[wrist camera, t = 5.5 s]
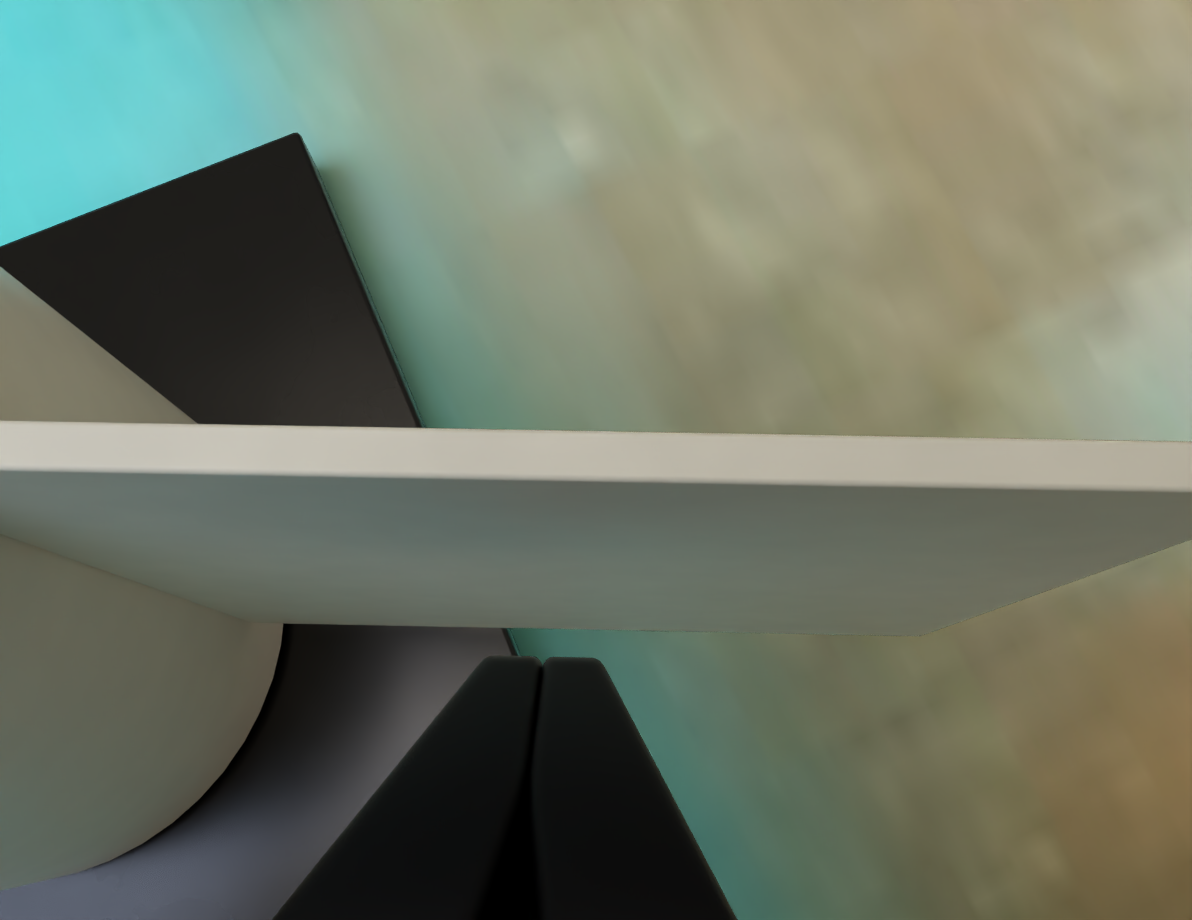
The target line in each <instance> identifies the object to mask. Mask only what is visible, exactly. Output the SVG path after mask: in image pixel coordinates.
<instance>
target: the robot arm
mask: <svg viewBox="0 0 1192 920" xmlns="http://www.w3.org/2000/svg"><path fill="white" fill-rule="evenodd" d="M272 920H737V918H736V916H735V914H734V912H733V910H732V909H731V907H730V905H729V903H728V901H727V899H726V897H725V895H724V893H723V891H722V889H721V888H720V886H719V884H718V882H717V880H716V878H715V876H714V874H713V872H712V870H711V869H710V867H709V865H708V863H707V861H706V859H705V857H704V855H703V853H702V851H701V849H700V848H699V846H698V844H697V842H696V840H695V838H694V836H693V834H692V832H691V830H690V829H689V827H688V825H687V823H686V821H685V819H684V817H683V815H682V813H681V811H680V809H679V808H678V806H677V804H676V802H675V800H674V798H673V796H672V794H671V792H670V790H669V789H668V787H667V785H666V783H665V781H664V779H663V777H662V775H661V773H660V771H659V769H658V768H657V766H656V764H655V762H654V760H653V758H652V756H651V754H650V752H649V750H648V749H647V747H646V745H645V743H644V741H643V739H642V737H641V735H640V733H639V731H638V729H637V728H636V726H635V724H634V722H633V720H632V718H631V716H630V714H629V712H628V710H627V709H626V707H625V705H624V703H623V701H622V699H621V697H620V695H619V693H618V691H617V690H616V688H615V686H614V684H613V682H612V680H611V678H610V676H609V674H608V672H607V670H606V669H605V667H604V665H603V664H602V663H601V662H600V661H599V660H597V659H595V658H580V657H550V658H549V659H547V660H546V661H545V663H544V664H543V667H542V663H541V662H540V660H539V659H538V658H536V657H533V656H497V655H493V656H488V657H486V658H485V659H483V660H482V661H481V662H480V663H479V665H478V666H477V667H476V668H475V670H474V671H473V672H472V673H471V674H470V676H469V677H468V678H467V679H466V681H465V682H464V683H463V684H462V686H461V687H460V688H459V689H458V691H457V692H456V693H455V694H454V695H453V697H452V698H451V699H450V700H449V702H448V703H447V704H446V705H445V707H444V708H443V709H442V710H441V711H440V713H439V714H438V715H437V716H436V718H435V719H434V720H433V721H432V723H431V724H430V725H429V726H428V727H427V729H426V730H425V731H424V732H423V734H422V735H421V736H420V737H419V739H418V740H417V741H416V742H415V743H414V745H413V746H412V747H411V748H410V750H409V751H408V752H407V753H406V755H405V756H404V757H403V758H402V759H401V761H400V762H399V763H398V764H397V766H396V767H395V768H394V769H393V771H392V772H391V773H390V774H389V775H388V777H387V778H386V779H385V780H384V782H383V783H382V784H381V785H380V787H379V788H378V789H377V790H376V792H375V793H374V794H373V795H372V796H371V798H370V799H369V800H368V801H367V803H366V804H365V805H364V806H363V808H362V809H361V810H360V811H359V812H358V814H357V815H356V816H355V817H354V819H353V820H352V821H351V822H350V824H349V825H348V826H347V827H346V828H345V830H344V831H343V832H342V833H341V835H340V836H339V837H338V838H337V840H336V841H335V842H334V843H333V844H332V846H331V847H330V848H329V849H328V851H327V852H326V853H325V854H324V856H323V857H322V858H321V859H320V860H319V862H318V863H317V864H316V865H315V867H314V868H313V869H312V870H311V872H310V873H309V874H308V875H307V876H306V878H305V879H304V880H303V881H302V883H301V884H300V885H299V886H298V888H297V889H296V890H295V891H294V893H293V894H292V895H291V896H290V897H289V899H288V900H287V901H286V902H285V904H284V905H283V906H282V907H281V909H280V910H279V911H278V912H277V913H276V915H275V916H274V917H273V918H272Z"/></svg>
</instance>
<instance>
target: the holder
mask: <svg viewBox="0 0 1192 920" xmlns="http://www.w3.org/2000/svg"><path fill="white" fill-rule="evenodd" d="M0 267H1V268H3V269H4V270H5V271H6V272H8V273H9V274H10V275H11V276H13V277H14V278H15V279H16V280H18V281H19V282H20V283H21V284H23V285H24V286H25V287H26V288H28V289H29V290H30V291H31V292H33V293H34V294H35V295H37V296H38V297H39V298H40V299H42V300H43V301H44V302H45V303H47V304H48V305H49V306H50V307H52V308H53V309H54V310H55V311H57V312H58V313H59V314H60V315H62V316H63V317H64V318H65V319H67V320H68V321H69V322H70V323H72V324H73V325H74V326H75V327H77V328H78V329H79V330H80V331H82V332H83V333H84V334H86V335H87V336H88V337H89V338H91V339H92V340H93V341H94V342H96V343H97V344H98V345H99V346H101V347H102V348H103V349H104V350H106V351H107V352H108V353H109V354H111V355H112V356H113V357H114V358H116V359H117V360H118V361H119V362H121V363H122V364H123V365H124V366H126V367H127V368H128V369H130V370H131V371H132V372H133V373H135V374H136V375H137V376H138V377H140V378H141V379H142V380H143V381H145V382H146V383H147V384H148V385H150V386H151V387H152V388H153V389H155V390H156V391H157V392H158V393H160V394H161V395H162V396H163V397H165V398H166V399H167V400H168V401H170V402H171V403H172V404H173V405H175V406H176V407H177V408H179V409H180V410H181V411H182V412H184V413H185V414H186V415H187V416H189V417H190V418H191V419H192V420H194V421H195V422H196V423H197V424H225V425H281V426H338V427H394V428H426V427H425V425H424V422H423V420H422V417H421V415H420V413H419V410H418V408H417V405H416V403H415V401H414V398H413V396H412V394H411V391H410V389H409V386H408V384H407V382H406V379H405V377H404V374H403V372H402V370H401V367H400V365H399V362H398V360H397V358H396V355H395V353H394V351H393V348H392V346H391V343H390V341H389V339H388V336H387V334H386V331H385V329H384V327H383V324H382V322H381V319H380V317H379V315H378V312H377V310H376V308H375V305H374V303H373V300H372V298H371V296H370V293H369V291H368V288H367V286H366V284H365V281H364V279H363V276H362V274H361V272H360V269H359V267H358V265H357V262H356V260H355V257H354V255H353V253H352V250H351V248H350V245H349V243H348V241H347V238H346V236H345V233H344V231H343V229H342V226H341V224H340V222H339V219H338V217H337V214H336V212H335V210H334V207H333V205H332V202H331V200H330V198H329V195H328V193H327V190H326V188H325V186H324V183H323V181H322V178H321V176H320V174H319V171H318V169H317V167H316V165H315V163H314V161H313V159H312V157H311V155H310V153H309V151H308V149H307V147H306V145H305V143H304V141H303V139H302V137H301V135H299V134H298V133H292V134H290V135H287V136H285V137H282V138H280V139H277V140H274V141H272V142H269V143H267V144H264V145H261V146H259V147H256V148H254V149H251V150H248V151H246V152H243V153H241V154H238V155H236V156H233V157H230V158H228V159H225V160H223V161H220V162H217V163H215V164H212V165H210V166H207V167H205V168H202V169H199V170H197V171H194V172H192V173H189V174H186V175H184V176H181V177H179V178H176V179H174V180H171V181H168V182H166V183H163V184H161V185H158V186H155V187H153V188H150V189H148V190H145V191H143V192H140V193H137V194H135V195H132V196H130V197H127V198H124V199H122V200H119V201H117V202H114V203H112V204H109V205H106V206H104V207H101V208H99V209H96V210H93V211H91V212H88V213H86V214H83V215H81V216H78V217H75V218H73V219H70V220H68V221H65V222H62V223H60V224H57V225H55V226H52V227H50V228H47V229H44V230H42V231H39V232H37V233H34V234H31V235H29V236H26V237H24V238H21V239H19V240H16V241H13V242H11V243H8V244H6V245H3V246H0ZM493 655H497V656H521V654H520V652H519V649H518V647H517V644H516V642H515V640H514V637H513V635H512V633H511V630H510V628H486V627H437V626H387V625H337V624H288V623H283V631H282V640H281V647H280V651H279V655H278V659H277V663H276V668H275V672H274V676H273V679H272V682H271V685H270V687H269V690H268V693H267V695H266V698H265V700H264V703H263V706H262V708H261V711H260V713H259V715H258V717H257V719H256V721H255V722H254V724H253V726H252V728H251V730H250V732H249V734H248V736H247V738H246V739H245V741H244V743H243V744H242V746H241V747H240V749H239V750H238V752H237V753H236V755H235V756H234V757H233V759H232V760H231V762H230V763H229V765H228V766H227V768H226V769H225V770H224V772H223V773H222V774H221V775H220V776H219V778H218V779H217V780H216V781H215V782H214V783H213V784H212V785H211V787H210V788H209V789H208V790H207V791H206V792H205V793H204V794H203V796H202V797H201V798H200V799H199V800H198V801H197V802H195V803H194V804H193V805H192V806H191V807H190V808H189V809H188V810H186V811H185V812H184V813H183V814H182V815H181V816H180V817H179V818H177V819H176V820H175V821H174V822H173V823H172V824H170V825H169V826H167V827H166V828H164V829H163V830H162V831H160V832H159V833H157V834H156V835H154V836H153V837H151V838H150V839H149V840H147V841H146V842H144V843H143V844H141V845H139V846H137V847H135V848H133V849H131V850H129V851H127V852H126V853H124V854H122V855H120V856H118V857H116V858H114V859H112V860H110V861H107V862H105V863H102V864H99V865H97V866H94V867H91V868H89V869H86V870H83V871H81V872H78V873H74V874H70V875H66V876H61V877H57V878H53V879H49V880H44V881H40V882H36V883H32V884H27V885H23V886H19V887H15V888H10V889H6V890H2V891H0V920H272V918H273V917H274V916H275V915H276V913H277V912H278V911H279V910H280V909H281V907H282V906H283V905H284V904H285V902H286V901H287V900H288V899H289V897H290V896H291V895H292V894H293V893H294V891H295V890H296V889H297V888H298V886H299V885H300V884H301V883H302V881H303V880H304V879H305V878H306V876H307V875H308V874H309V873H310V872H311V870H312V869H313V868H314V867H315V865H316V864H317V863H318V862H319V860H320V859H321V858H322V857H323V856H324V854H325V853H326V852H327V851H328V849H329V848H330V847H331V846H332V844H333V843H334V842H335V841H336V840H337V838H338V837H339V836H340V835H341V833H342V832H343V831H344V830H345V828H346V827H347V826H348V825H349V824H350V822H351V821H352V820H353V819H354V817H355V816H356V815H357V814H358V812H359V811H360V810H361V809H362V808H363V806H364V805H365V804H366V803H367V801H368V800H369V799H370V798H371V796H372V795H373V794H374V793H375V792H376V790H377V789H378V788H379V787H380V785H381V784H382V783H383V782H384V780H385V779H386V778H387V777H388V775H389V774H390V773H391V772H392V771H393V769H394V768H395V767H396V766H397V764H398V763H399V762H400V761H401V759H402V758H403V757H404V756H405V755H406V753H407V752H408V751H409V750H410V748H411V747H412V746H413V745H414V743H415V742H416V741H417V740H418V739H419V737H420V736H421V735H422V734H423V732H424V731H425V730H426V729H427V727H428V726H429V725H430V724H431V723H432V721H433V720H434V719H435V718H436V716H437V715H438V714H439V713H440V711H441V710H442V709H443V708H444V707H445V705H446V704H447V703H448V702H449V700H450V699H451V698H452V697H453V695H454V694H455V693H456V692H457V691H458V689H459V688H460V687H461V686H462V684H463V683H464V682H465V681H466V679H467V678H468V677H469V676H470V674H471V673H472V672H473V671H474V670H475V668H476V667H477V666H478V665H479V663H480V662H481V661H482V660H483V659H485V658H486V657H488V656H493Z"/></svg>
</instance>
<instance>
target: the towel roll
mask: <svg viewBox="0 0 1192 920" xmlns="http://www.w3.org/2000/svg"><path fill="white" fill-rule="evenodd" d="M1191 539H1192V442H1185V441H1129V440H1072V439H1016V438H959V437H903V436H846V435H790V434H733V433H677V432H620V431H564V430H507V429H451V428H394V427H338V426H281V425H225V424H197V423H196V422H195V421H194V420H192V419H191V418H190V417H189V416H187V415H186V414H185V413H184V412H182V411H181V410H180V409H179V408H177V407H176V406H175V405H173V404H172V403H171V402H170V401H168V400H167V399H166V398H165V397H163V396H162V395H161V394H160V393H158V392H157V391H156V390H155V389H153V388H152V387H151V386H150V385H148V384H147V383H146V382H145V381H143V380H142V379H141V378H140V377H138V376H137V375H136V374H135V373H133V372H132V371H131V370H130V369H128V368H127V367H126V366H124V365H123V364H122V363H121V362H119V361H118V360H117V359H116V358H114V357H113V356H112V355H111V354H109V353H108V352H107V351H106V350H104V349H103V348H102V347H101V346H99V345H98V344H97V343H96V342H94V341H93V340H92V339H91V338H89V337H88V336H87V335H86V334H84V333H83V332H82V331H80V330H79V329H78V328H77V327H75V326H74V325H73V324H72V323H70V322H69V321H68V320H67V319H65V318H64V317H63V316H62V315H60V314H59V313H58V312H57V311H55V310H54V309H53V308H52V307H50V306H49V305H48V304H47V303H45V302H44V301H43V300H42V299H40V298H39V297H38V296H37V295H35V294H34V293H33V292H31V291H30V290H29V289H28V288H26V287H25V286H24V285H23V284H21V283H20V282H19V281H18V280H16V279H15V278H14V277H13V276H11V275H10V274H9V273H8V272H6V271H5V270H4V269H3V268H1V267H0V891H2V890H6V889H10V888H15V887H19V886H23V885H27V884H32V883H36V882H40V881H44V880H49V879H53V878H57V877H61V876H66V875H70V874H74V873H78V872H81V871H83V870H86V869H89V868H91V867H94V866H97V865H99V864H102V863H105V862H107V861H110V860H112V859H114V858H116V857H118V856H120V855H122V854H124V853H126V852H127V851H129V850H131V849H133V848H135V847H137V846H139V845H141V844H143V843H144V842H146V841H147V840H149V839H150V838H151V837H153V836H154V835H156V834H157V833H159V832H160V831H162V830H163V829H164V828H166V827H167V826H169V825H170V824H172V823H173V822H174V821H175V820H176V819H177V818H179V817H180V816H181V815H182V814H183V813H184V812H185V811H186V810H188V809H189V808H190V807H191V806H192V805H193V804H194V803H195V802H197V801H198V800H199V799H200V798H201V797H202V796H203V794H204V793H205V792H206V791H207V790H208V789H209V788H210V787H211V785H212V784H213V783H214V782H215V781H216V780H217V779H218V778H219V776H220V775H221V774H222V773H223V772H224V770H225V769H226V768H227V766H228V765H229V763H230V762H231V760H232V759H233V757H234V756H235V755H236V753H237V752H238V750H239V749H240V747H241V746H242V744H243V743H244V741H245V739H246V738H247V736H248V734H249V732H250V730H251V728H252V726H253V724H254V722H255V721H256V719H257V717H258V715H259V713H260V711H261V708H262V706H263V703H264V700H265V698H266V695H267V693H268V690H269V687H270V685H271V682H272V679H273V676H274V672H275V668H276V663H277V659H278V655H279V651H280V647H281V640H282V631H283V623H288V624H337V625H387V626H437V627H486V628H536V629H585V630H635V631H685V632H734V633H784V634H834V635H883V636H922V635H925V634H928V633H931V632H933V631H936V630H939V629H942V628H945V627H947V626H950V625H953V624H956V623H959V622H961V621H964V620H967V619H970V618H973V617H975V616H978V615H981V614H984V613H987V612H989V611H992V610H995V609H998V608H1001V607H1003V606H1006V605H1009V604H1012V603H1015V602H1017V601H1020V600H1023V599H1026V598H1029V597H1031V596H1034V595H1037V594H1040V593H1043V592H1045V591H1048V590H1051V589H1054V588H1057V587H1059V586H1062V585H1065V584H1068V583H1071V582H1073V581H1076V580H1079V579H1082V578H1085V577H1087V576H1090V575H1093V574H1096V573H1099V572H1101V571H1104V570H1107V569H1110V568H1113V567H1115V566H1118V565H1121V564H1124V563H1127V562H1129V561H1132V560H1135V559H1138V558H1141V557H1143V556H1146V555H1149V554H1152V553H1155V552H1157V551H1160V550H1163V549H1166V548H1169V547H1171V546H1174V545H1177V544H1180V543H1183V542H1185V541H1188V540H1191Z"/></svg>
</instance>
